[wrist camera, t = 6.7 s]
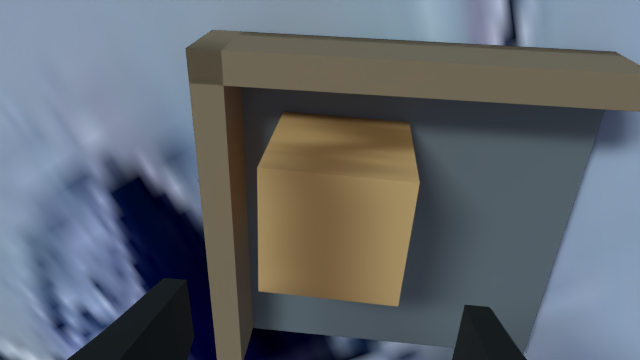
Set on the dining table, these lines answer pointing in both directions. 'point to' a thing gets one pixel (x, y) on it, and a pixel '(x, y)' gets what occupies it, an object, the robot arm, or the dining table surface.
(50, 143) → the dining table surface
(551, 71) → the arena
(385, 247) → the block
